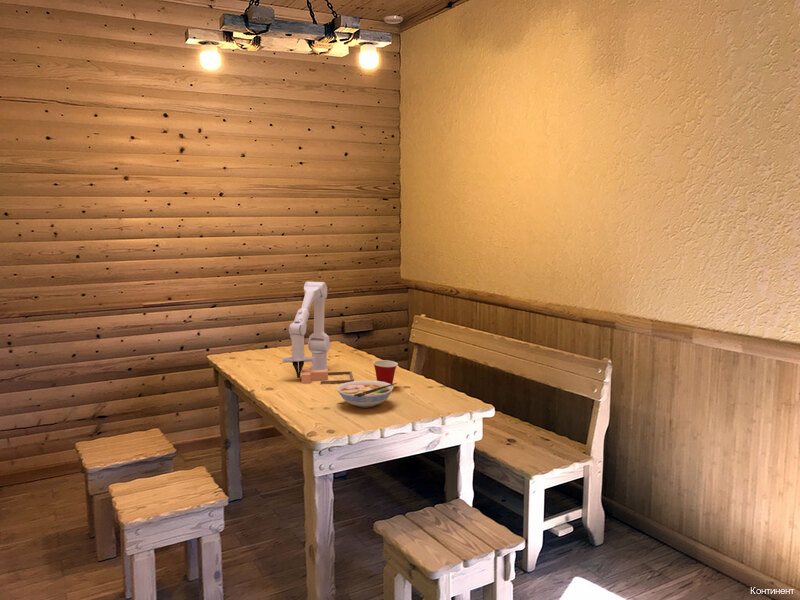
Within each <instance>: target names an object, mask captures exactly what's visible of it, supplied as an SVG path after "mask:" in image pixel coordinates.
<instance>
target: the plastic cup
mask: <svg viewBox="0 0 800 600" xmlns="http://www.w3.org/2000/svg"><path fill="white" fill-rule="evenodd" d="M372 363H373V366H374V371H375V376H376V381H381V382H386V383H389V384H392V385H393V384H394V383H393V382H394V377H395V373H396V369H397V367H398V365H399V363H398V362H396V361H394V360H389V359H388V360H387V359H386V360H385V359H378V360H374V361H373V362H372Z"/></svg>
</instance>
